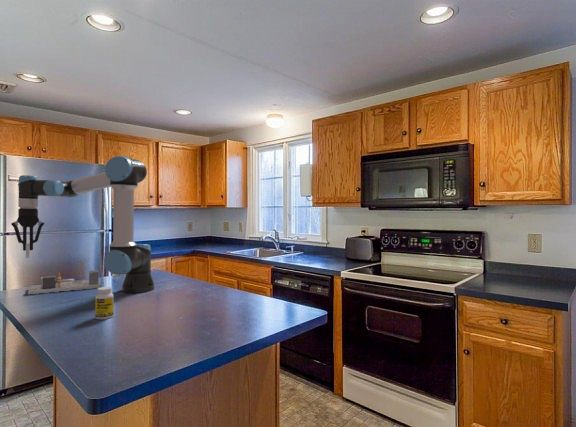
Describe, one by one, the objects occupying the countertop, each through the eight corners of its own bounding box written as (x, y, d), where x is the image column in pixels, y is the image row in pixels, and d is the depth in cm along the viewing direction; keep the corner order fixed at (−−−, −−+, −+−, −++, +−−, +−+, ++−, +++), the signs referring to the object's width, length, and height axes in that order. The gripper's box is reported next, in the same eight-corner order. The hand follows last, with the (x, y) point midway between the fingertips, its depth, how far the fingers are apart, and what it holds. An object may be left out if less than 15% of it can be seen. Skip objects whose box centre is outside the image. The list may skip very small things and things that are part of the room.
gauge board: (98, 283, 192) (98, 268, 192) (100, 287, 181) (100, 272, 181) (30, 289, 176) (30, 273, 176) (28, 295, 165) (28, 278, 165)
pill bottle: (94, 320, 129) (94, 290, 129) (95, 316, 134) (95, 287, 134) (113, 318, 132) (113, 289, 131) (113, 314, 137) (113, 285, 137)
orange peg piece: (61, 282, 183) (61, 272, 183) (61, 283, 180) (61, 273, 180) (57, 282, 182) (57, 272, 182) (57, 283, 179) (57, 273, 179)
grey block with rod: (74, 281, 185) (74, 272, 185) (74, 285, 177) (74, 275, 177) (42, 284, 178) (42, 274, 178) (40, 288, 170) (40, 278, 169)
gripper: (45, 208, 175) (45, 255, 176) (12, 207, 168) (12, 257, 169) (44, 208, 169) (44, 257, 169) (9, 207, 162) (9, 259, 162)
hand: (28, 257), depth 169 cm, fingers closed
